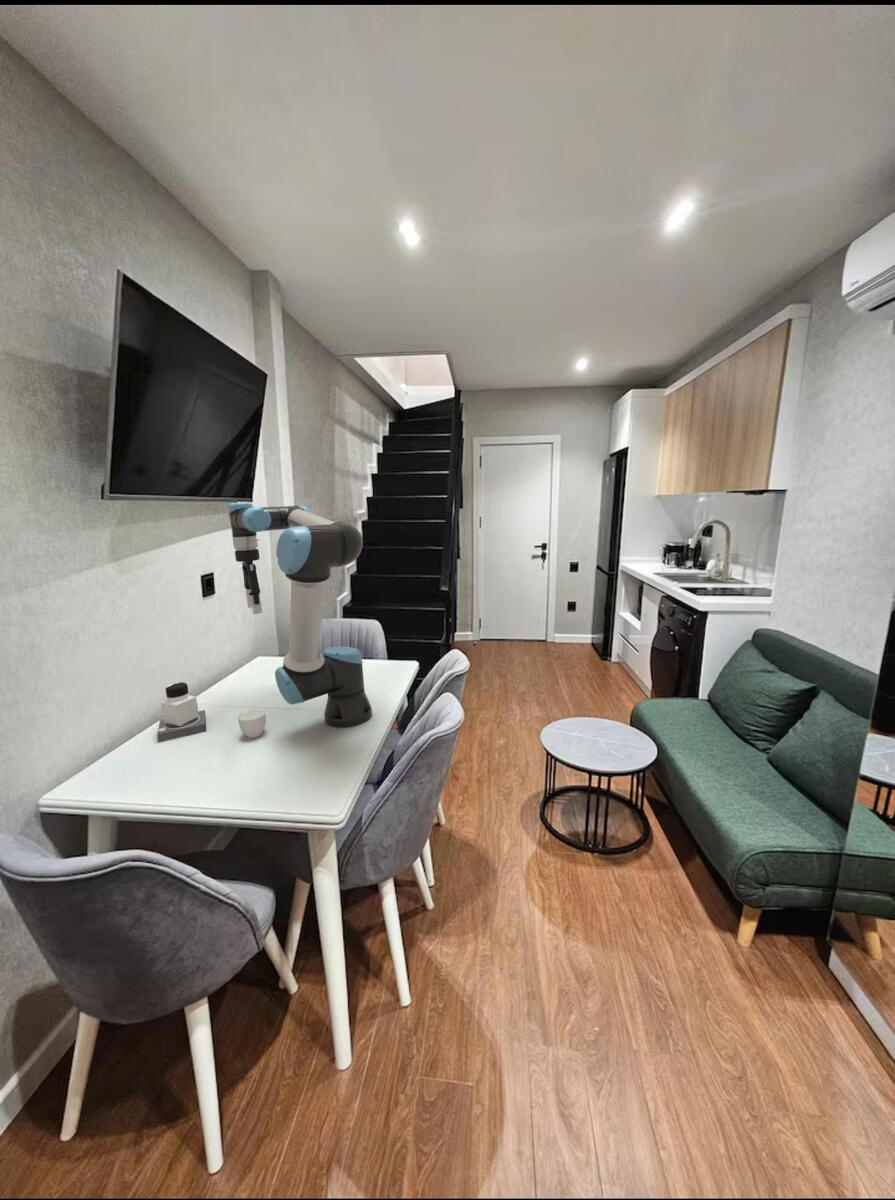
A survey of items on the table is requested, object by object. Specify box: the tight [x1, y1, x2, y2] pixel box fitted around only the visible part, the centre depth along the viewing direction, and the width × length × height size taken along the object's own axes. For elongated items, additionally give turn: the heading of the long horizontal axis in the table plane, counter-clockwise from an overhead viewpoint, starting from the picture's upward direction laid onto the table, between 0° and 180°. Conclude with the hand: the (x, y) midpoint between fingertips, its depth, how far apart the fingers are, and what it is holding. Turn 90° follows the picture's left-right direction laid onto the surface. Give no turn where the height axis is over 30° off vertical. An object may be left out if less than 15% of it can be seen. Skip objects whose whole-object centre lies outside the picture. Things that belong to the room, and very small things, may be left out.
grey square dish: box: [156, 709, 207, 743], centre depth 151 cm, size 12×13×3 cm
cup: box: [237, 708, 267, 739], centre depth 145 cm, size 8×10×7 cm
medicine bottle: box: [160, 681, 199, 726], centre depth 149 cm, size 7×7×12 cm
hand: (254, 610), depth 164 cm, fingers open, 13 cm apart
